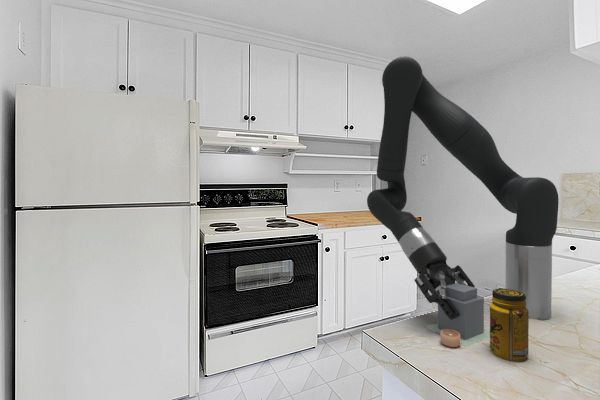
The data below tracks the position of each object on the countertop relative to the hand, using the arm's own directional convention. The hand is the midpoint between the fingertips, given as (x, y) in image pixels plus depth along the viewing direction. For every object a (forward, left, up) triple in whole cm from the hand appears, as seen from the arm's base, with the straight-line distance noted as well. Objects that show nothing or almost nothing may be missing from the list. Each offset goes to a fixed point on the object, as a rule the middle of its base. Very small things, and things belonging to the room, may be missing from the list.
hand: (466, 313), depth 68 cm
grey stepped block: (-1, -1, -4) cm, 4 cm away
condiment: (+3, +9, -5) cm, 11 cm away
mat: (-1, -1, -4) cm, 5 cm away
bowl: (+7, -1, -4) cm, 8 cm away
